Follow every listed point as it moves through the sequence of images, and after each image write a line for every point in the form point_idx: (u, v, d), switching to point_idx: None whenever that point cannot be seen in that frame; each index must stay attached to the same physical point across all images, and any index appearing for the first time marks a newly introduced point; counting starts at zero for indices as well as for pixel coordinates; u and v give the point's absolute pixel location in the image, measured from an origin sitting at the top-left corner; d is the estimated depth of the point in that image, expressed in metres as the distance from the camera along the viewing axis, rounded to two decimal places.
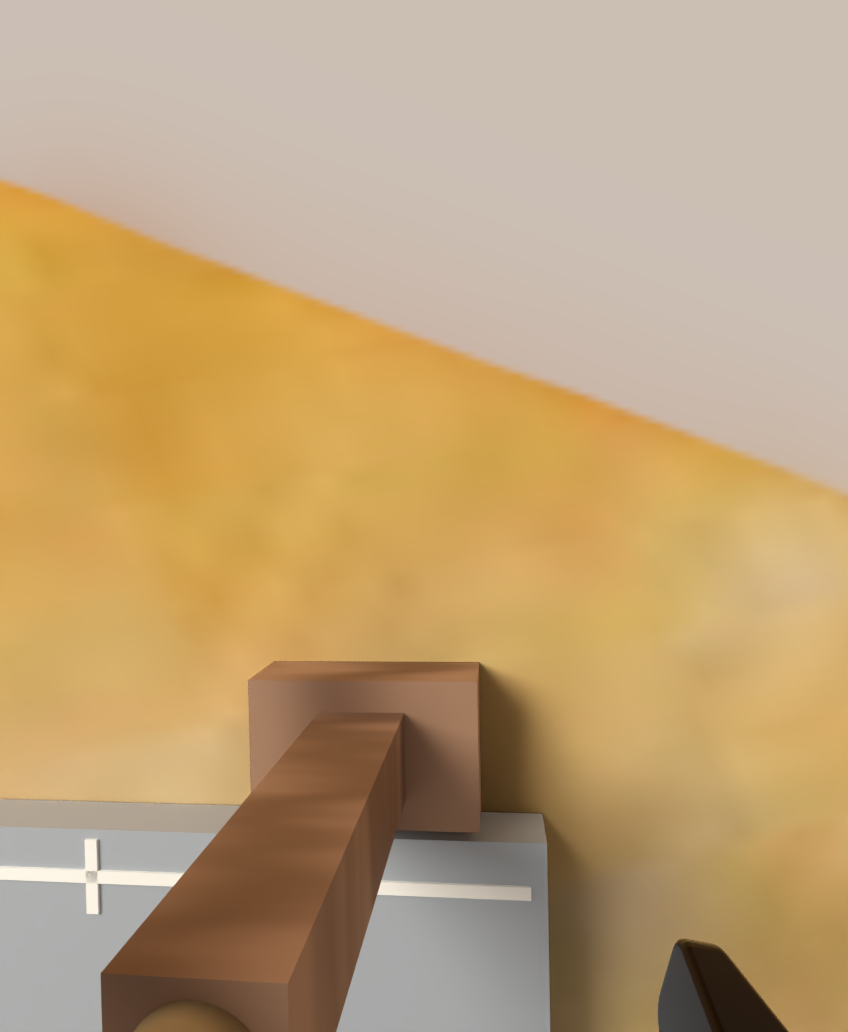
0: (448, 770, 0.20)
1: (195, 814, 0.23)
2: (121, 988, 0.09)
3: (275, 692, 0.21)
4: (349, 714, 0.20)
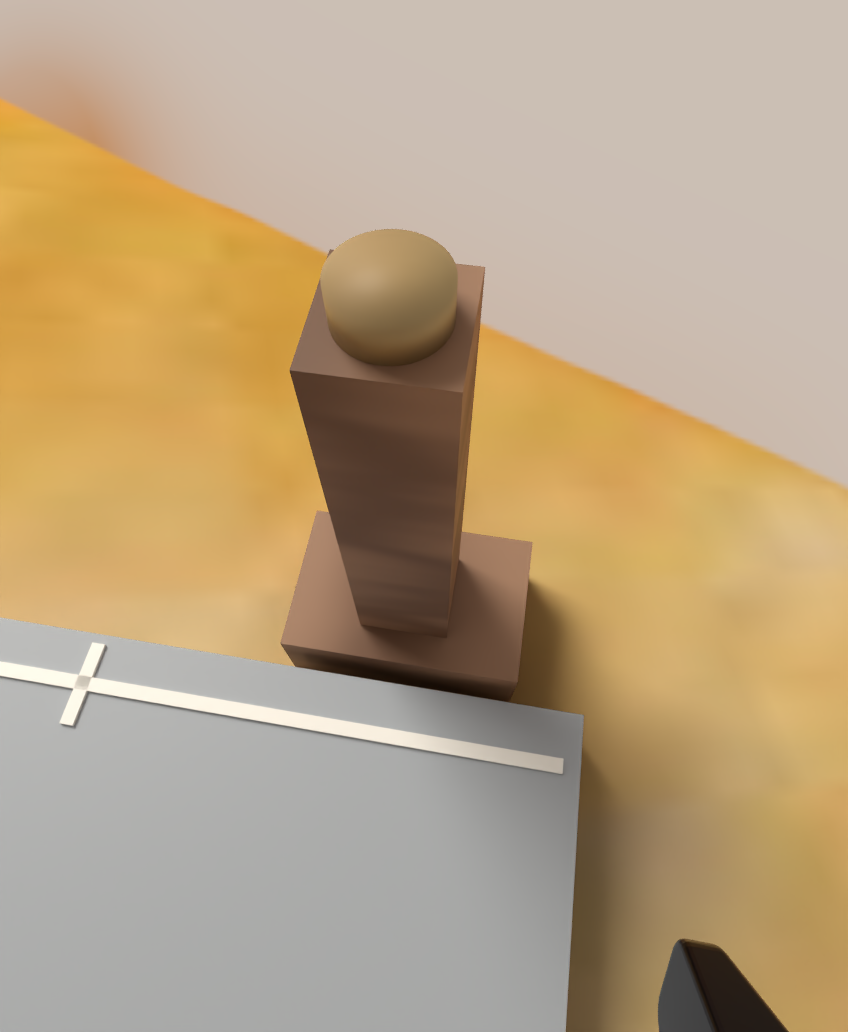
0: (493, 616, 0.20)
1: None
2: None
3: None
4: None
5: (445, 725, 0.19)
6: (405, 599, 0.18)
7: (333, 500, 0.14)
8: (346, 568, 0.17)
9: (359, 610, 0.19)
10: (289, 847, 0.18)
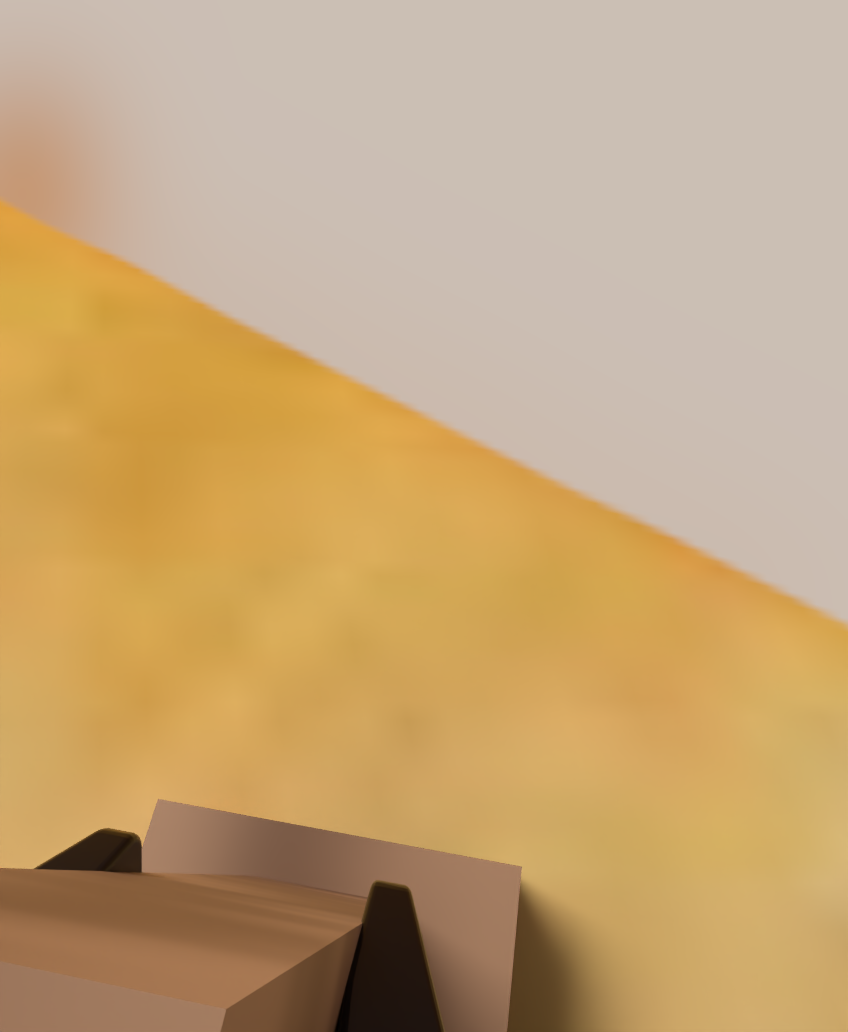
0: None
1: None
2: None
3: (194, 827, 0.13)
4: (305, 885, 0.12)
5: None
6: None
7: None
8: None
9: None
10: None
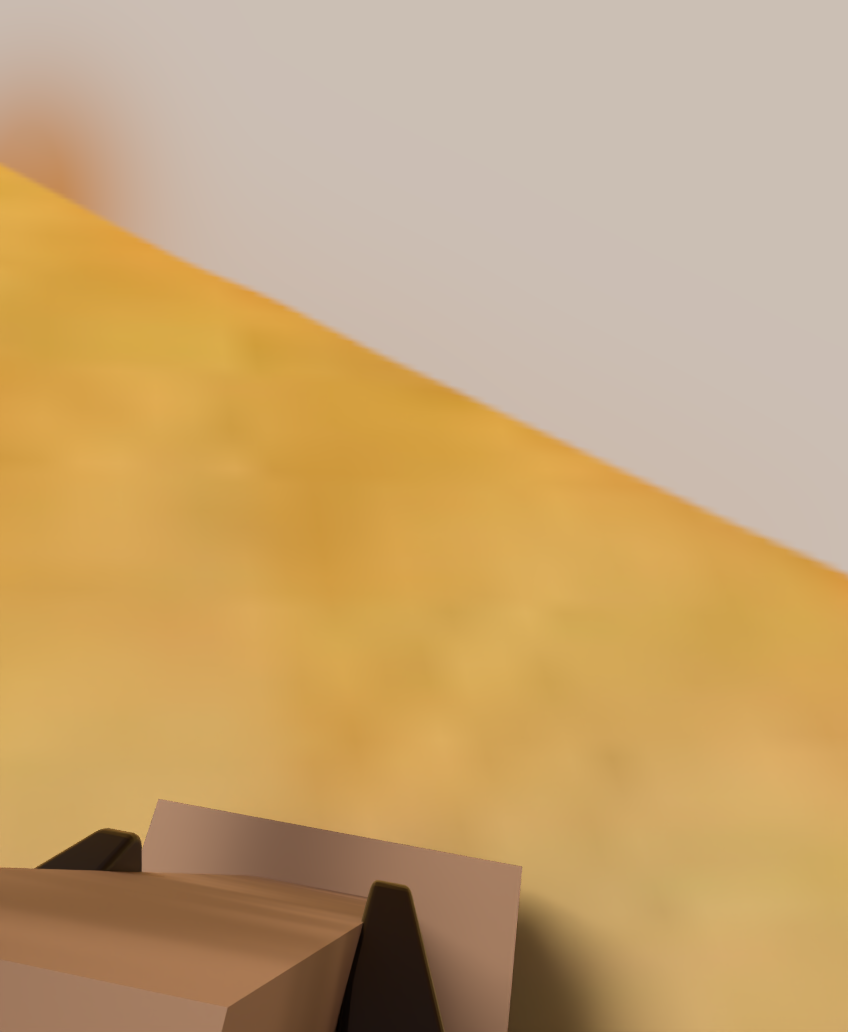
0: None
1: None
2: None
3: (194, 828, 0.13)
4: (305, 885, 0.12)
5: None
6: None
7: None
8: None
9: None
10: None
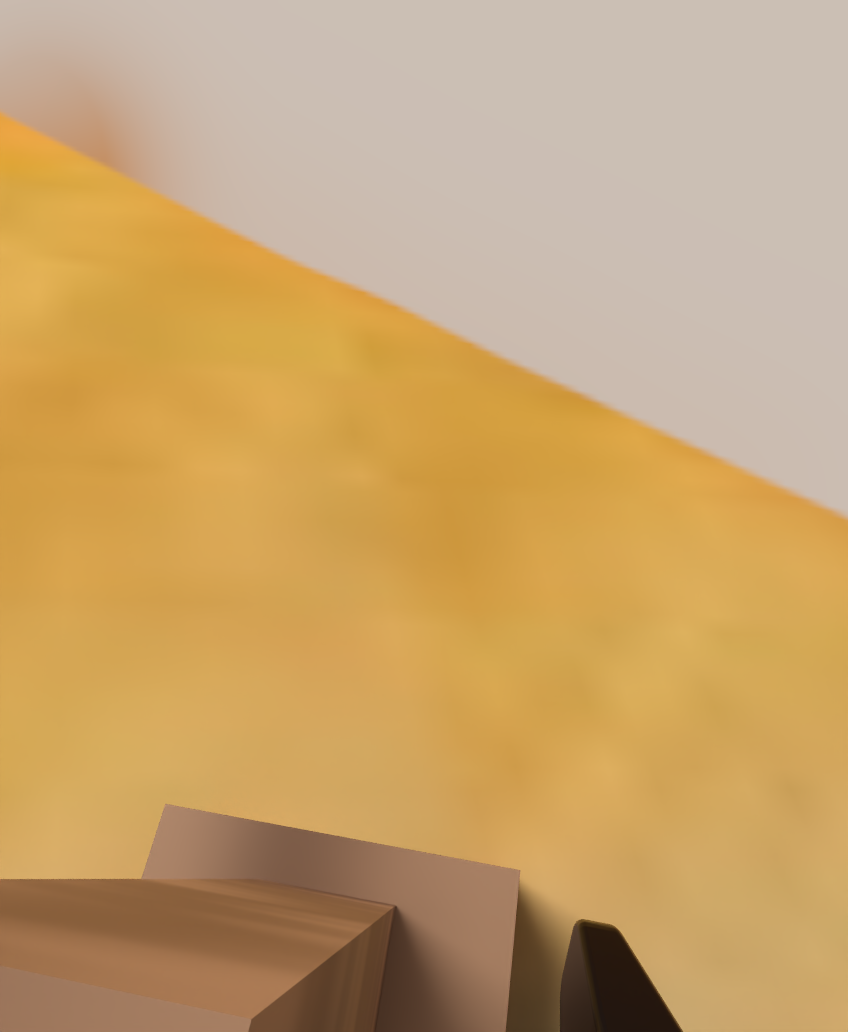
0: (452, 1031, 0.12)
1: None
2: None
3: (201, 832, 0.13)
4: (309, 888, 0.12)
5: None
6: None
7: None
8: None
9: None
10: None
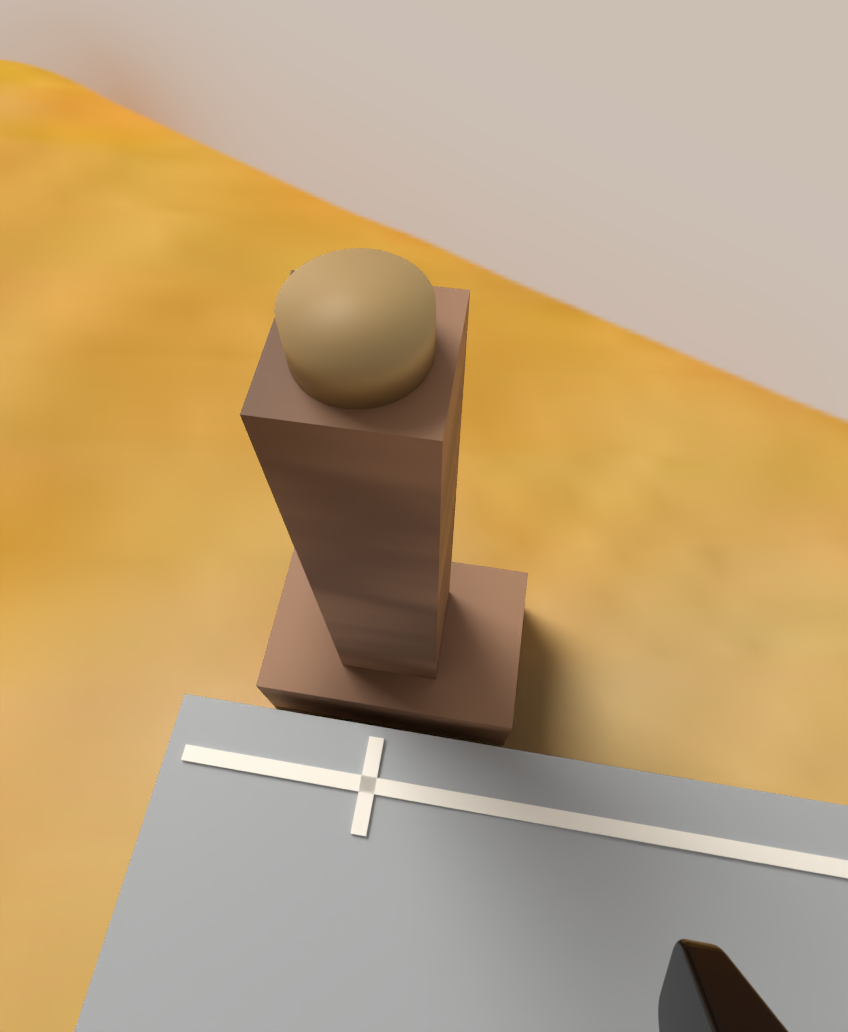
0: (486, 654, 0.19)
1: None
2: None
3: None
4: None
5: (786, 834, 0.17)
6: (390, 643, 0.16)
7: (302, 547, 0.12)
8: (323, 612, 0.15)
9: (340, 652, 0.18)
10: (640, 984, 0.16)
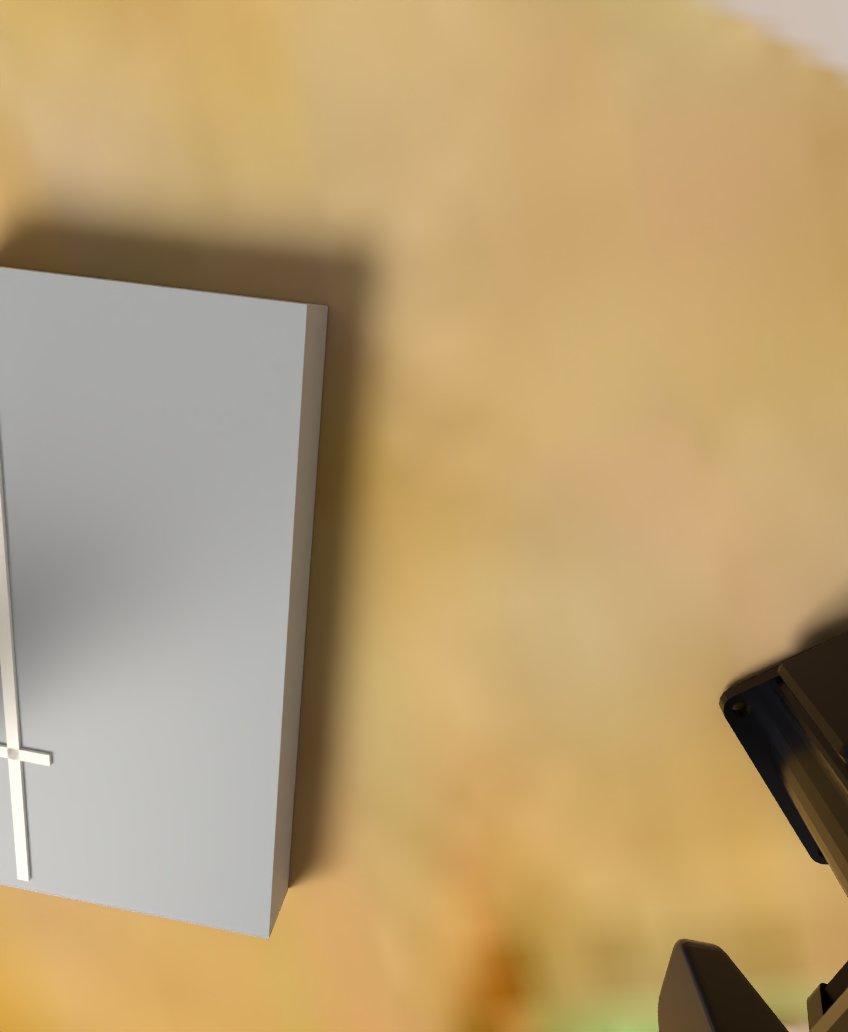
0: None
1: None
2: None
3: None
4: None
5: None
6: None
7: None
8: None
9: None
10: (106, 558, 0.19)
